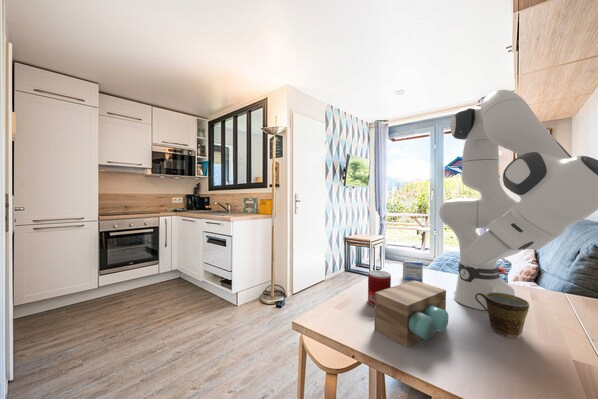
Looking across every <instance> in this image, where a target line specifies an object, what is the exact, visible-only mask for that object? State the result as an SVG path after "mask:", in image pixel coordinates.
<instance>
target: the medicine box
mask: <svg viewBox="0 0 598 399" xmlns="http://www.w3.org/2000/svg"><path fill="white" fill-rule="evenodd" d="M423 264H424V263H423V262H422V261H421V260H412V259H411V260H406V259H403V260H402V278H403V279H404V280H405V281H413V280H415V281H418V282H423V274H424V273H423V271H424V270H423V269H424V268H423Z"/></svg>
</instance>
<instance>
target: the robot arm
mask: <svg viewBox="0 0 598 399" xmlns="http://www.w3.org/2000/svg"><path fill="white" fill-rule="evenodd" d="M449 127H450V128H449V129H450V132H451V135H452V137H453V138H454V139H456V140H463V141H465V142H464V144H463V149H462V150H463V151H462V157H461V158H462V161H461V181H462V183H463V185H464V186H465V187H467V188H469V189H471V190H474V191H476V192H479V194H481V197H480V198H453V199H447V200H445V201H444V202H443V203H442V204H441V205H440V207H439V212H438V214H439V217H440V220H441V221H442V223H444V224H445V225H446V226H448V227H449V228H450V229H451V231H452V232H453V233H454V234H455V236H456V238H457V241H458V245H459V262H458V266H457V268H458V269H457V271H458V275H457V280H456V286H455V287H456V288H455V290H454V293H453V294H454V297H453V299H454V300H455V301H456V302H457V303H459V304H461V305H463V306H466V307H469V308H473V309H475V310H480V311H486V310H485V309H484V308H483V306H482V305H481V304H480V303H479V302H478V301H477V300H476V298H475V295H476V294H477V293H482V294H484V295H485V294H486V293H490V292H497V293H505V294H509V295H513V296H516V294H515V293H516V292H515V289H514V288H513V287H512V286H511V285H510V284H508V283H507V281H504V280H503V278H501V275H504V274H506V268H505V267H499V266H498V267H497V261H499V260H502V259H505V258H508V257H511V256H514V255H516V254H519V253H520V252H523V251H526V250H533V251H538V250H540V249H542V248H544V247H545V246H546V245H548V244H549V243H551V242H553V241H554V240H555V239H557V238H559V237H560V236H561V235H562V234H563V233H564V232H565V231H566V230H567V228H568V227H570V226H572V225H573V224H576V223H579V222H582V221H584V220H585V219H587V218H588V217H590V216H592V215H593V214H594V213H595V212H596V211H598V159H596V158H594V157H591V156H587V155H577V156H571V154H570V153H569V152H568V151H567V150H566V149H565V148H564V146H562V145H561V144H560V143H559V142H558V141H557V140H556V138H554V136H553V135H552V134H551V132H550V131H549V130H548V129H547V127H546V126H545V125H544V124H543V123H542V121H541V120H540V119H539V118H538V116H537V115H536V114H535V112H534V111H533V110H532V108H531V107H530V105H529V104H528V103H527V101H526V100H525V99H523V97H522V96H521V95H519V94H518V93H516V92H514V91H512V90H508V89H499V90H494V91H493V92H491V93H489V94H488V95H487V96H485V97H484V99H482V101H481V103H480V105H479V106H474V107H470V106H469V107H465V108H463V109H460V110H457V111H455V113H454V114H453V116H452V118H451V120H450V125H449ZM499 147H501V148H504V149H506V150H508V151H511V152H513V153H515V154H517V155H519V156H517V157H515V158H514V159H513V160H512V161H510V162H509V164H508V165H507V166H506V167H505V169H504V171H503V173H502V182H503V185H504V187H505V188H506V189H507V190H509V191H510V192H511V193H513V194H515V195H517V196H518V197H519V198H520V200H519V201H517V200H515V199H513V198H512V197H511V196H510V195H508V194H507V192H506V191H505V190H504V188H503V187H502V185H501V180H500V170H499V168H500V166H499V164H500V163H499V162H500V161H499V160H500V155H499V154H500V153H499ZM476 229H483V230H485V229H486V230H485V231H484V232H482V234H480V235H479V233H478V232H477V231H476ZM500 274H501V275H500ZM477 299H478V300H479V301H480V302H481V303H482V304H483V305H484V306H485V308H486V309H487V304H486V300H485V299H484V298H483V297H482V296H481V295H477ZM487 310H488V309H487Z"/></svg>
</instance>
